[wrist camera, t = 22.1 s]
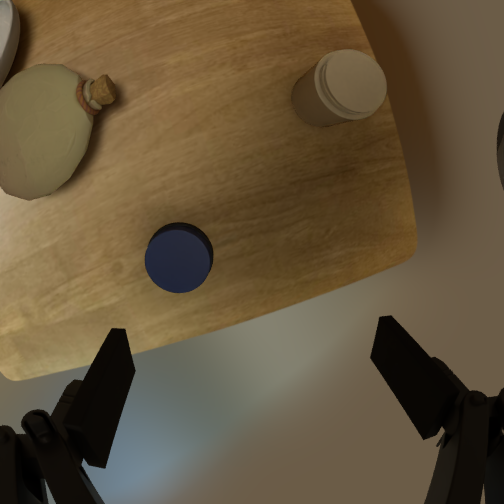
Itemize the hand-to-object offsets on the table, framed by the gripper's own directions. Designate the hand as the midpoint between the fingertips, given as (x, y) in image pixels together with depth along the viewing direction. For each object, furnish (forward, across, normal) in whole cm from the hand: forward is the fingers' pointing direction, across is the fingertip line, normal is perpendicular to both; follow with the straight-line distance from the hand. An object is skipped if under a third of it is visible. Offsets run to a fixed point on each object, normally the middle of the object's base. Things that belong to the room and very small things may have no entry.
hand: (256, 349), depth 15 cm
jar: (+23, +10, +16) cm, 30 cm away
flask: (+22, -21, +15) cm, 34 cm away
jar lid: (+20, -7, -2) cm, 21 cm away
